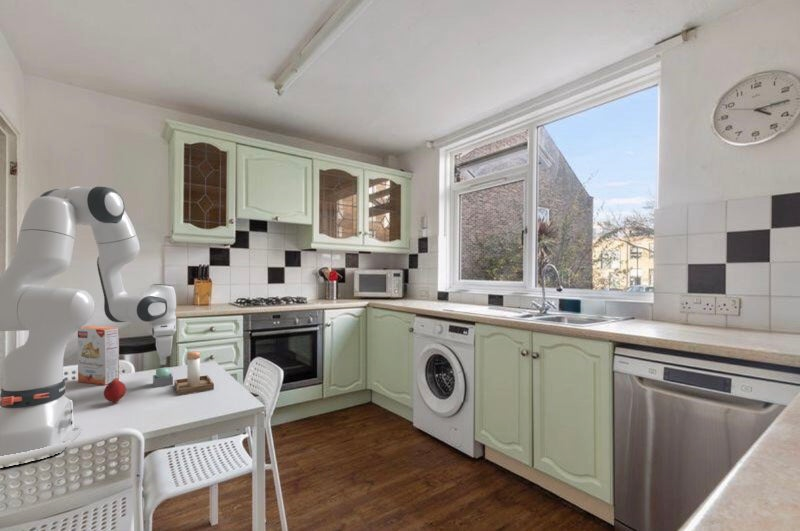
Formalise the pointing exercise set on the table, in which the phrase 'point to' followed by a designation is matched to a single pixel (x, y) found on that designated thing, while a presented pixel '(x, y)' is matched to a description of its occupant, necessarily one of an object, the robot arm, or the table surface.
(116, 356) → the cracker box
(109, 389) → the onion
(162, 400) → the table surface
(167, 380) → the button housing
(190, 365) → the white bottle
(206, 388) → the tray
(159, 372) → the button
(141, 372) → the table surface
